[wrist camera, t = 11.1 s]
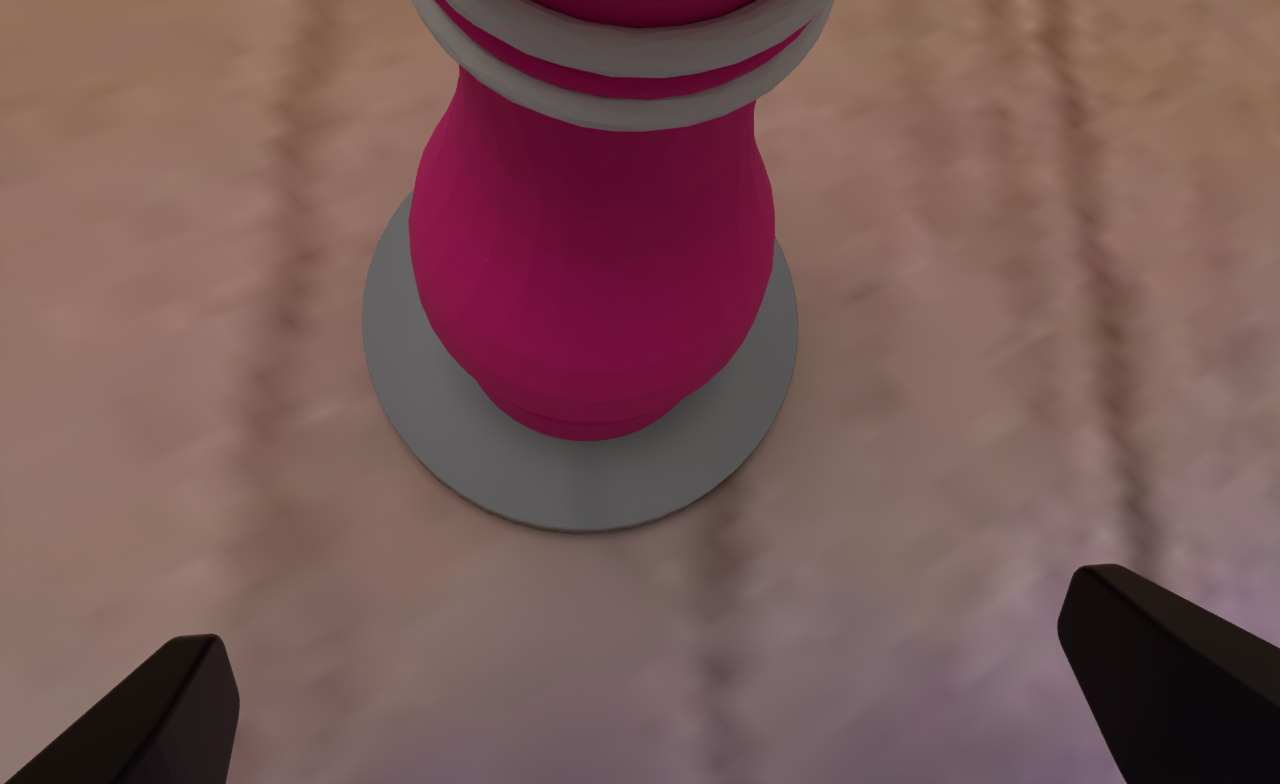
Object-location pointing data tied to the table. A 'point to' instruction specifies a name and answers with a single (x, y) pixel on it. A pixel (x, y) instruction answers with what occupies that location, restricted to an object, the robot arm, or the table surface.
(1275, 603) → the table surface
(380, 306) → the slate coaster
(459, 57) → the pepper mill
